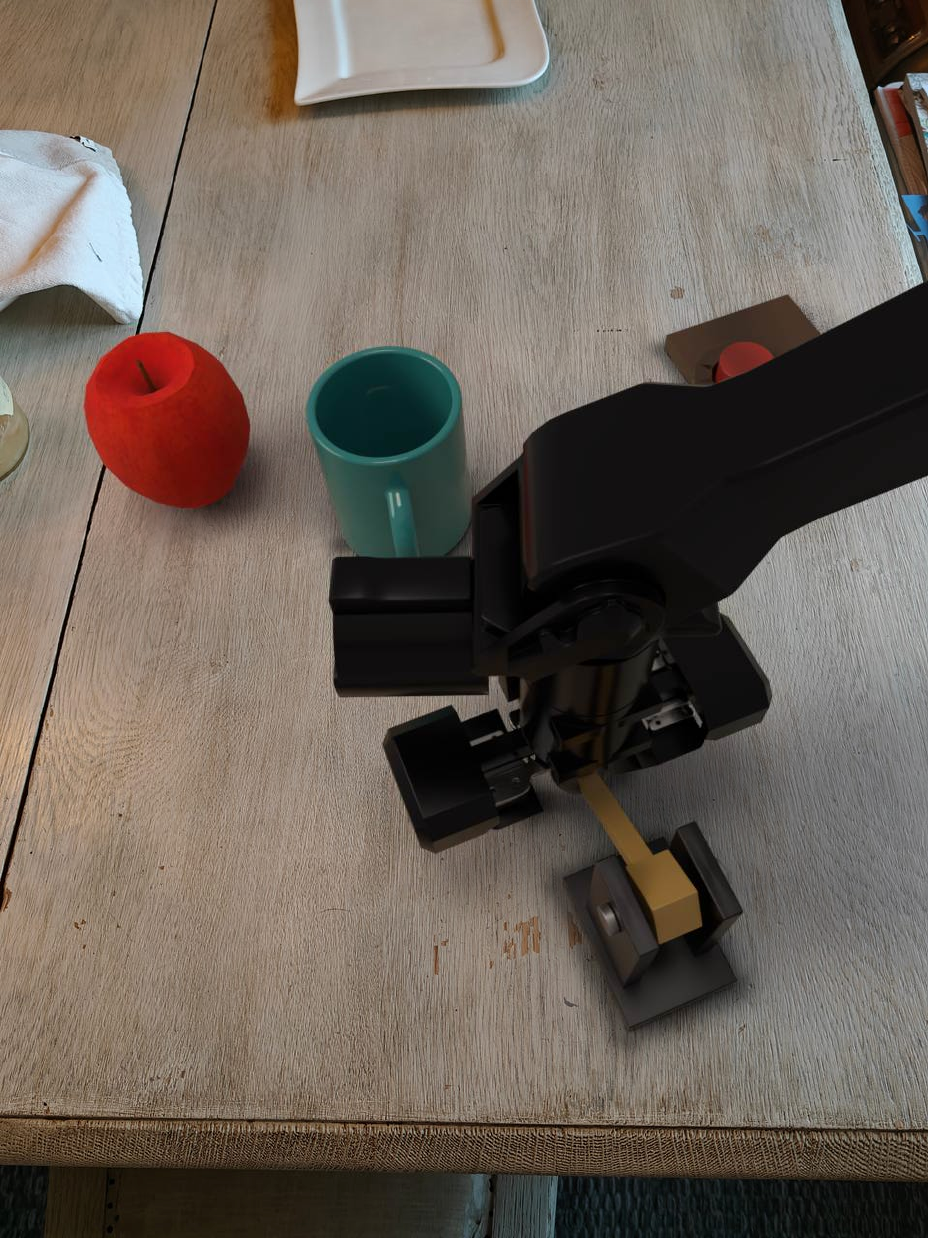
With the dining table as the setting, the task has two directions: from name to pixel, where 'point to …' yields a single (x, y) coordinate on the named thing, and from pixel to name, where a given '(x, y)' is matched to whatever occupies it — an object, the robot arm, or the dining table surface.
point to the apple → (167, 420)
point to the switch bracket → (626, 943)
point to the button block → (738, 337)
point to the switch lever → (642, 863)
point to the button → (740, 359)
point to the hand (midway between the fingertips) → (569, 783)
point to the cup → (393, 451)
